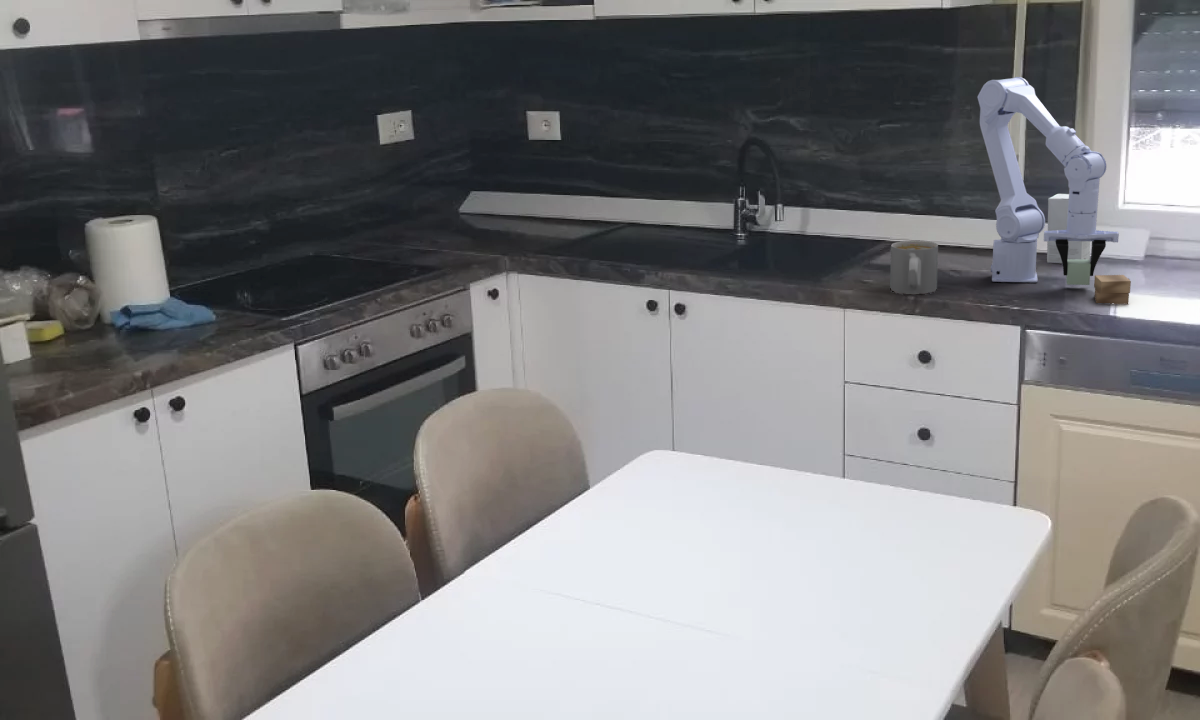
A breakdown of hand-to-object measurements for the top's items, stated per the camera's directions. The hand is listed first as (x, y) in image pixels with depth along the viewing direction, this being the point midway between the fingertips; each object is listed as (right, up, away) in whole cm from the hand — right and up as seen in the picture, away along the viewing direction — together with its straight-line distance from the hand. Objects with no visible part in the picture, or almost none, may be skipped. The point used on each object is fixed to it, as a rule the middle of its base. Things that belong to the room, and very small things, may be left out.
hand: (1078, 274), depth 250 cm
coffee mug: (-33, -3, +7) cm, 34 cm away
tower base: (+3, -6, -9) cm, 11 cm away
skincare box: (+8, +5, +26) cm, 28 cm away
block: (0, -2, 0) cm, 2 cm away
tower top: (+3, -4, -10) cm, 11 cm away
